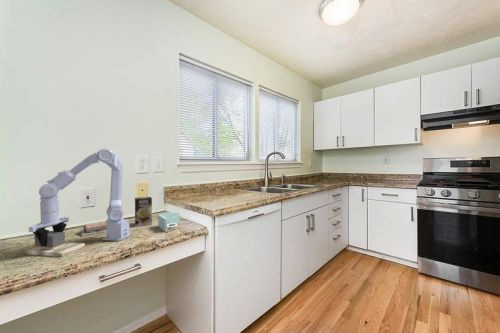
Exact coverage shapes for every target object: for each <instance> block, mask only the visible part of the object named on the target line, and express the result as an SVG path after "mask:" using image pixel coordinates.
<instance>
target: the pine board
mask: <svg viewBox="0 0 500 333" xmlns="http://www.w3.org/2000/svg"><path fill="white" fill-rule="evenodd" d="M85 247H86V246H85V243H82V242H81V243H80V242H67V241H65V245H63V246H61V247H58V248H56V249H40V248H35V246H33V247H31V248H28V249H24V250H23V253H24V255H32V256H44V257H45V256H47V257H57V258H58V257H59V258H63V257H65V256H68V255H70V254H72V253H74V252H77V251H78V250H81V249H83V248H85Z"/></svg>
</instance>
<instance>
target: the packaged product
mask: <svg viewBox="0 0 500 333" xmlns="http://www.w3.org/2000/svg"><path fill="white" fill-rule="evenodd" d="M104 233H107V227H106V221H100V222H99V221H98V222H94V223H93V222H92V223H87V224H84V225H83V228H82V229H80V235H81V237H83V238H84V237H87V236H93V235H98V234H104Z"/></svg>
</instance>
